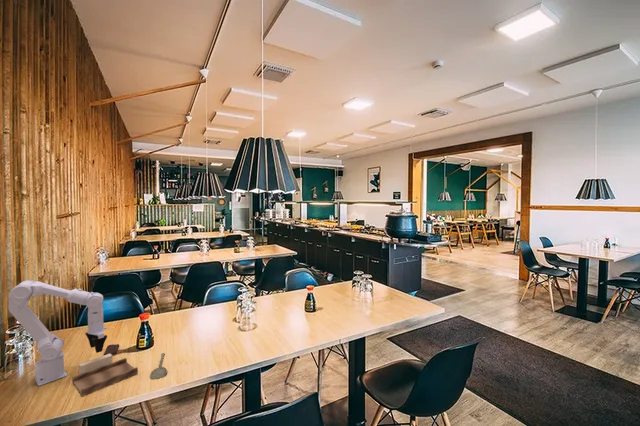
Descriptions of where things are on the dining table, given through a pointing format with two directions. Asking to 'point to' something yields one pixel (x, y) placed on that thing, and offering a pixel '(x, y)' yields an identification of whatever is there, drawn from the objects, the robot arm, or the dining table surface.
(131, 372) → the tray
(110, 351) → the ice cream bar
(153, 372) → the soupspoon
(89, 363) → the clay bar
